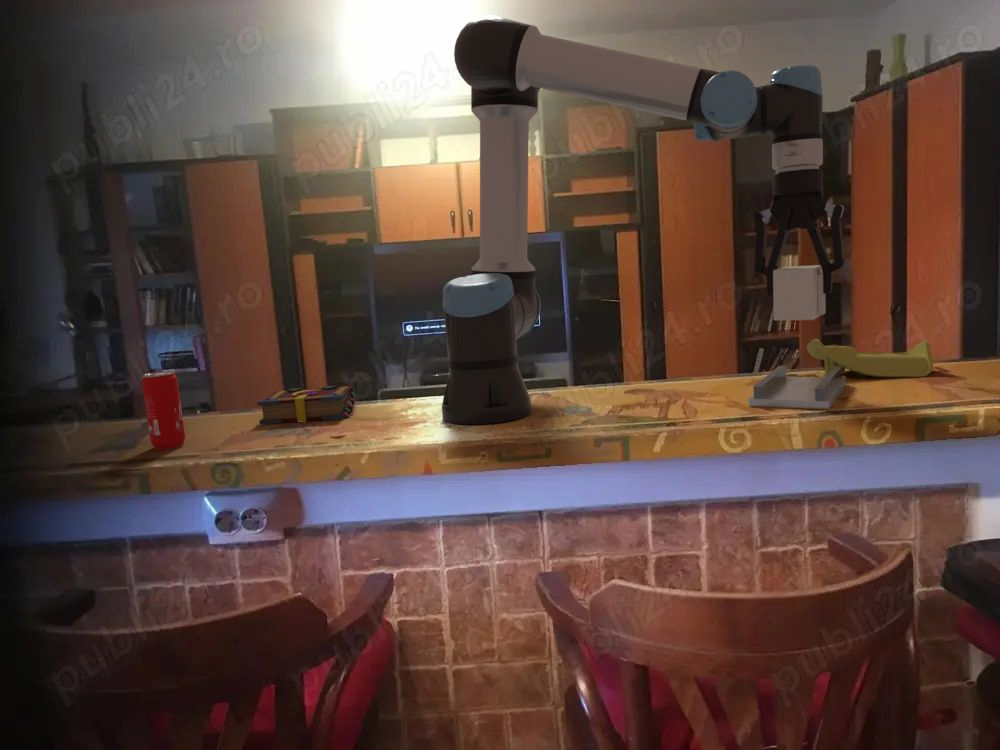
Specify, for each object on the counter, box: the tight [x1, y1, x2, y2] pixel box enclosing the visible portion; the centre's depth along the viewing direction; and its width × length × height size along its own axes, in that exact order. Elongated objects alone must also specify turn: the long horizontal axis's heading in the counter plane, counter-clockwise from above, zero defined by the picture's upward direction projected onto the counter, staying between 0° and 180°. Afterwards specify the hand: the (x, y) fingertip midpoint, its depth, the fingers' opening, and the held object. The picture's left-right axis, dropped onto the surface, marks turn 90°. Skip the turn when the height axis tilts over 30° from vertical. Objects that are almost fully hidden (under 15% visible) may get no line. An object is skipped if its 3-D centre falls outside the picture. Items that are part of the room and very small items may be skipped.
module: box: [772, 264, 822, 321], centre depth 128 cm, size 6×10×8 cm, turn 149°
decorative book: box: [256, 384, 357, 425], centre depth 144 cm, size 11×16×5 cm
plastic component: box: [806, 338, 934, 378], centre depth 145 cm, size 20×7×10 cm
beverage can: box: [141, 370, 186, 451], centre depth 126 cm, size 5×5×12 cm
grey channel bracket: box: [748, 365, 848, 410], centre depth 131 cm, size 12×20×3 cm, turn 149°
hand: (799, 314), depth 129 cm, fingers closed on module, 6 cm apart
